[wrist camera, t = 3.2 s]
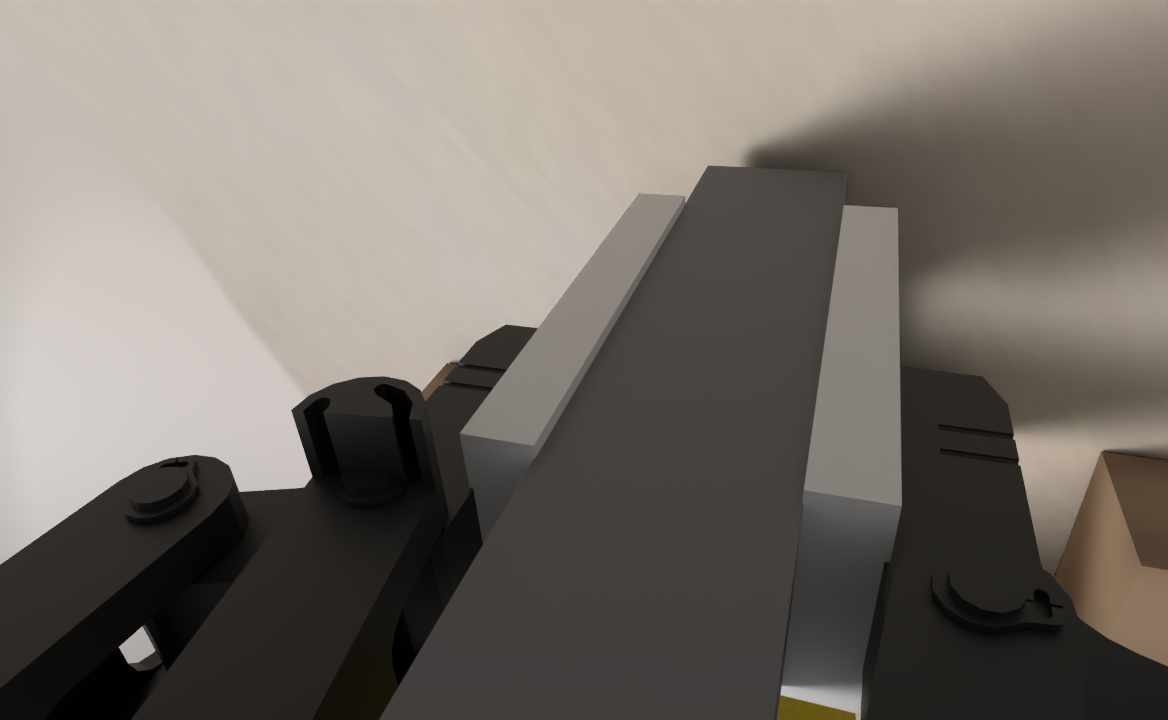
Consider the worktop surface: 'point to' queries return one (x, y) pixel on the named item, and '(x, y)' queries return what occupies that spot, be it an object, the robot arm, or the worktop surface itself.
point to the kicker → (661, 488)
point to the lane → (1107, 550)
